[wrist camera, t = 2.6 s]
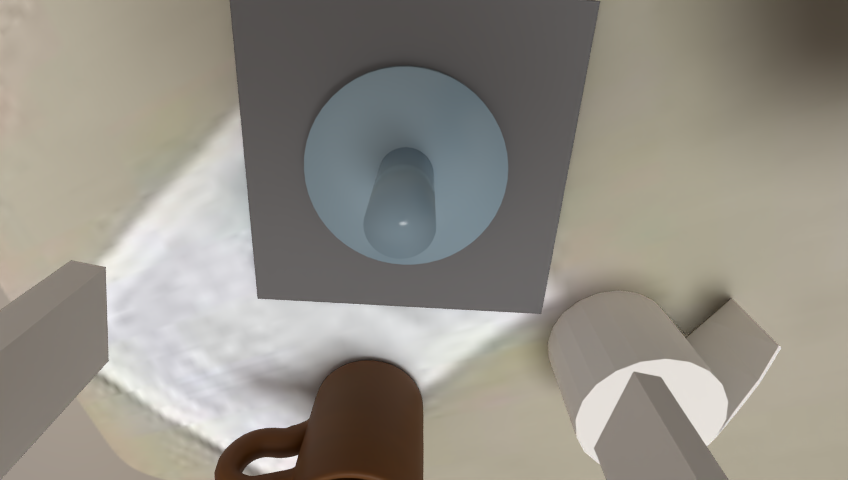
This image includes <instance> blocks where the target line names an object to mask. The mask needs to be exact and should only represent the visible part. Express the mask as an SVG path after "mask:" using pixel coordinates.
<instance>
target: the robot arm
mask: <svg viewBox="0 0 848 480" xmlns="http://www.w3.org/2000/svg"><path fill="white" fill-rule="evenodd" d="M108 361H109V360H108V328H107V296H106V267H102V266H97V265H92V264H87V263H82V262H77V261H72V260H71V261H69V262H68V263H67V264H65V265H64V266H62V267H61V268H59V269H58V270H57V271H55V272H54V273H52V274H51V275H49V276H48V277H47V278H45V279H44V280H42V281H41V282H39V283H38V284H37V285H35V286H34V287H32V288H31V289H29V290H28V291H27V292H25V293H24V294H22V295H21V296H19V297H18V298H17V299H15V300H14V301H12V302H11V303H10V304H8V305H7V306H5V307H4V308H2V309H1V310H0V480H1V479H2V478H3V476H5V475H6V474H7V472H8V471H9V470H10V469H11V468H12V467H13V466H14V465H15V464H16V463H17V461H18V460H19V459H20V458H21V457H22V456H23V455H24V454H25V453H26V452H27V450H28V449H29V448H30V447H31V446H32V445H33V444H34V443H35V442H36V440H37V439H38V438H39V437H40V436H41V435H42V434H43V432H44V431H45V430H46V429H47V428H48V427H49V426H50V425H51V424H52V423H53V422H54V421H55V419H56V418H57V417H58V416H59V415H60V414H61V413H62V412H63V411H64V410H65V408H66V407H67V406H68V405H69V404H70V403H71V402H72V401H73V400H74V398H75V397H76V396H77V395H78V394H79V393H80V392H81V391H82V390H83V389H84V387H85V386H86V385H87V384H88V383H89V382H90V381H91V380H92V379H93V377H94V376H95V375H96V374H97V373H98V372H99V371H100V370H101V369H102V368H103V366H104V365H105V364H106V363H107V362H108ZM594 450H595V452H596V455H597V457H598V460H599V462H600V465H601V468H602V470H603V473H604V475H605V478H606V480H728V478H727V477H726V475H725V474H724V472H723V471H722V469H721V467H720V466H719V464H718V463H717V461H716V460H715V458H714V457H713V455H712V454H711V452H710V451H709V449H708V448H707V446H706V445H705V443H704V442H703V440H702V439H701V437H700V436H699V434H698V432H697V431H696V429H695V428H694V426H693V425H692V423H691V422H690V420H689V419H688V417H687V416H686V414H685V413H684V411H683V410H682V408H681V407H680V405H679V404H678V402H677V401H676V399H675V397H674V396H673V394H672V393H671V391H670V390H669V388H668V387H667V385H666V384H665V382H664V381H663V379H662V378H661V377H659V376H654V375H649V374H644V373H639V372H634V371H633V373H632V375H631V377H630V379H629V381H628V383H627V385H626V387H625V389H624V391H623V393H622V394H621V396H620V398H619V400H618V402H617V404H616V406H615V408H614V410H613V412H612V414H611V416H610V418H609V420H608V421H607V423H606V425H605V427H604V429H603V431H602V433H601V435H600V437H599V439H598V441H597V443H596V445H595V447H594Z"/></svg>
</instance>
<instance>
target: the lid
mask: <svg viewBox="0 0 848 480" xmlns="http://www.w3.org/2000/svg"><path fill="white" fill-rule="evenodd" d="M304 174H305V182H306V186H307V190H308V194H309V197H310V199H311V202H312V204H313V207H314V208H315V210H316V212H317V214H318V215H319V217H320V219H321V220H322V221H323V223H324V224H325V225H326V227H327V228H328V229H329V230H330V231H331V232H332V233H333V234H334V235H335V236H336V237H337V238H338V239H339V240H340V241H342V242H343V243H344V244H345V245H347V246H348V247H350V248H352V249H353V250H355V251H356V252H358V253H361V254H363V255H365V256H367V257H369V258H372V259H375V260H378V261H382V262H387V263H392V264H401V265H415V264H423V263H429V262H433V261H437V260H440V259H443V258H446V257H448V256H451V255H453V254H455V253H456V252H458V251H460V250H462V249H463V248H465V247H466V246H468V245H469V244H471V243H472V242H473V241H474V240H475V239H476V238H478V237H479V236H480V235H481V234H482V233H483V231H484V230H485V229H486V228H487V227H488V226H489V224H490V223H491V221H492V220H493V218H494V217H495V215H496V213H497V211H498V209H499V207H500V205H501V203H502V200H503V197H504V194H505V190H506V185H507V180H508V157H507V150H506V146H505V141H504V138H503V136H502V133H501V130H500V128H499V126H498V124H497V122H496V120H495V118H494V116H493V115H492V113H491V112H490V110H489V109H488V107H487V106H486V105H485V103H484V102H483V101H482V100H481V99H480V98H479V97H478V96H477V95H476V93H475V92H474V91H472V90H471V89H470V88H468V87H467V86H466V85H465V84H463V83H462V82H460V81H458V80H457V79H455V78H453V77H452V76H450V75H447V74H445V73H442V72H440V71H437V70H434V69H430V68H426V67H420V66H412V65H401V66H391V67H384V68H380V69H377V70H373V71H370V72H368V73H366V74H363V75H361V76H359V77H357V78H355V79H354V80H352V81H351V82H349V83H348V84H346V85H345V86H344V87H342V88H341V89H340V90H339V91H338V92H337V93H335V94H334V95H333V96H332V97H331V98H330V100H329V101H328V102H327V103H326V104H325V105H324V107H323V108H322V109H321V111H320V112H319V114H318V116H317V117H316V119H315V121H314V123H313V125H312V127H311V130H310V132H309V136H308V139H307V142H306V147H305V154H304Z"/></svg>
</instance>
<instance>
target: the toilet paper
mask: <svg viewBox="0 0 848 480" xmlns="http://www.w3.org/2000/svg"><path fill="white" fill-rule="evenodd" d="M780 349H781V347H780V346H779V345H778V344H777V343H776V342H775V341H774V340H773V339H772V338H771V337H770V336H769V335H768V334H767V333H766V332H765V331H764V330H763V329H762V328H761V327H760V326H759V325H758V324H757V323H756V322H755V321H754V320H753V319H752V318H751V317H750V316H749V315H748V314H747V313H746V312H745V311H744V310H743V309H742V308H741V307H740V306H739V305H738V304H737V303H736V302H735V301H734V300H733V299H732V298H731V299H730V300H729V301H728V302H727V303H726V304H724V305H723V306H722V307H721V308H720V309H719V310H718V311H716V312H715V313H714V314H713V315H712V316H711V317H709V318H708V319H707V320H706V321H705V322H704V323H703V324H702V325H700V326H699V327H698V328H697V329H696V330H695V331H694V332H692V333H691V334H690V335H689V336H688V337H687V338H685V337H684V336H683V334H682V333H681V332H680V331H679V329H678V328H677V327H676V326H675V324H674V323H673V322H672V321H671V319H670V318H669V317H668V316H667V314H666V313H665V312H664V311H663V310H662V309H661V308H660V307H659V306H658V305H657V303H656V302H655V301H653V300H651V299H649V298H647V297H645V296H643V295H641V294H639V293H634V292H627V291H620V290H617V291H609V292H602V293H597V294H594V295H592V296H590V297H587V298H585V299H582V300H580V301H578V302H577V303H576V304H574V305H573V306H572V307H570V308H569V309H568V310H566V311H565V312H564V313H563V314H562V315H561V317H560V318H559V319H558V321H557V322H556V323H555V325H554V326H553V328H552V331H551V334H550V337H549V340H548V355H549V360H550V363H551V366H552V369H553V372H554V375H555V377H556V380H557V383H558V386H559V389H560V391H561V394H562V397H563V400H564V403H565V406H566V408H567V411H568V414H569V417H570V420H571V423H572V425H573V428H574V431H575V434H576V437H577V439H578V441H579V442H580V444H581V446H582V448H583V450H584V452H585V453H587V454H588V455H589V456H590V457H591V458H592V459H594V460H595V461H596V462H597V463H599V464H600V462H599V460H598V457H597V455H596V452H595V450H594V447H595V445H596V443H597V441H598V439H599V437H600V435H601V433H602V431H603V429H604V427H605V425H606V423H607V421H608V420H609V418H610V416H611V414H612V412H613V410H614V408H615V406H616V404H617V402H618V400H619V398H620V396H621V394H622V393H623V391H624V389H625V387H626V385H627V383H628V381H629V379H630V377H631V375H632V373H633V371H634V372H639V373H644V374H649V375H654V376H659V377H661V378H662V379H663V381H664V382H665V384H666V385H667V387H668V388H669V390H670V391H671V393H672V394H673V396H674V397H675V399H676V401H677V402H678V404H679V405H680V407H681V408H682V410H683V411H684V413H685V414H686V416H687V417H688V419H689V420H690V422H691V423H692V425H693V426H694V428H695V429H696V431H697V432H698V434H699V436H700V437H701V439H702V440H703V442H704V443H705V445H706V446H708V445H709V444H710V443H711V442H712V441H713V440H714V439H715V438H716V437H717V436H718V434H719V433H720V432H721V431H722V430H723V429H724V427H725V426H726V425H727V424H728V423H729V421H730V420H731V419H732V418H733V417H734V415H735V414H736V413H737V412H738V410H739V409H740V408H741V407H742V405H743V404H744V403H745V401H746V400H747V399H748V398H749V396H750V395H751V394H752V392H753V391H754V390H755V389H756V387H757V386H758V385H759V383H760V382H761V381H762V379H763V377H764V376H765V374H766V372H767V371H768V369H769V367H770V366H771V364H772V362H773V361H774V359H775V357H776V356H777V354H778V352H779V351H780Z"/></svg>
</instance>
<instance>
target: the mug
mask: <svg viewBox="0 0 848 480" xmlns="http://www.w3.org/2000/svg"><path fill="white" fill-rule="evenodd" d="M296 455H298V459H297V462H296V466H295V467H294V468H292V469H288V470H284V471H278V472H273V473H268V474H263V475H257V476H248V475H245V474H243V473H242V472H243V470H244V469H245V467H246V466H247V465H248V464H249V463H251V462H252V461H254V460H256V459H258V458H262V457H274V458H287V457H292V456H296ZM215 480H423V402H422V397H421V394H420V391H419V389H418V387H417V385H416V384H415V382H414V381H413V380H412V379H411V378H410V377H409V376H408V375H407V374H406V373H405V372H403V371H402V370H401V369H399V368H397V367H395V366H393V365H391V364H388V363H384V362H380V361H372V360H363V361H356V362H352V363H348V364H346V365H343V366H341V367H339V368H338V369H336V370H335V371H333V372H332V373H331V374H330V375H328V376H327V378H326V379H325V380H324V381H323V383H322V385H321V386H320V388H319V390H318V393H317V396H316V398H315V401H314V405H313V408H312V412H311V415H310V418H309V419H308V420H307V421H305V422H302V423H300V424H297V425H293V426H290V427H288V428H264V429H258V430H255V431H251V432H249V433H247V434H245V435H242V436H241V437H240V438H238V439H237V440H235V441H234V442H233V443H232V444H230V445H229V446H228V447H227V448H226V449H225V451H224V452H223V454H222V455H221V456H220V458H219V460H218V463H217V466H216V469H215Z"/></svg>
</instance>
